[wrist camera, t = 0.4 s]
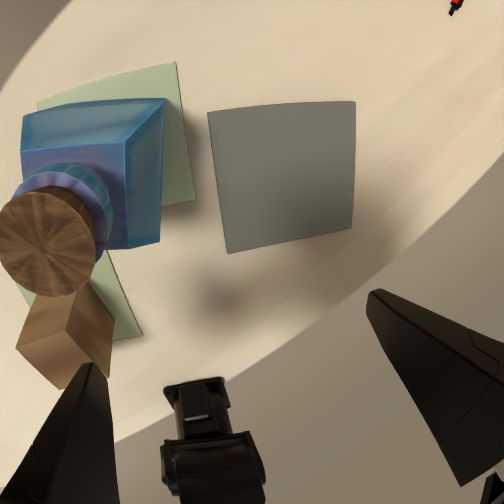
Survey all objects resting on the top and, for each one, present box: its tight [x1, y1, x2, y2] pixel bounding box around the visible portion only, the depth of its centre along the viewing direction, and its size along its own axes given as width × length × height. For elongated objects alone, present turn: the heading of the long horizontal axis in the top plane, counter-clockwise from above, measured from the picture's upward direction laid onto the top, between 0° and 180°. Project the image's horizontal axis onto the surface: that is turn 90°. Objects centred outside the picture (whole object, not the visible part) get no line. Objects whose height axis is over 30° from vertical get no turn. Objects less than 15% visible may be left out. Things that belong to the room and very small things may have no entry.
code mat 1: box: [36, 62, 196, 207], centre depth 16 cm, size 9×9×1 cm
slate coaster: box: [207, 101, 356, 254], centre depth 20 cm, size 10×10×1 cm
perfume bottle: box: [0, 98, 166, 298], centre depth 11 cm, size 6×6×12 cm
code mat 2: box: [15, 250, 142, 341], centre depth 21 cm, size 9×9×1 cm
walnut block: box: [16, 281, 115, 390], centre depth 19 cm, size 5×5×6 cm
